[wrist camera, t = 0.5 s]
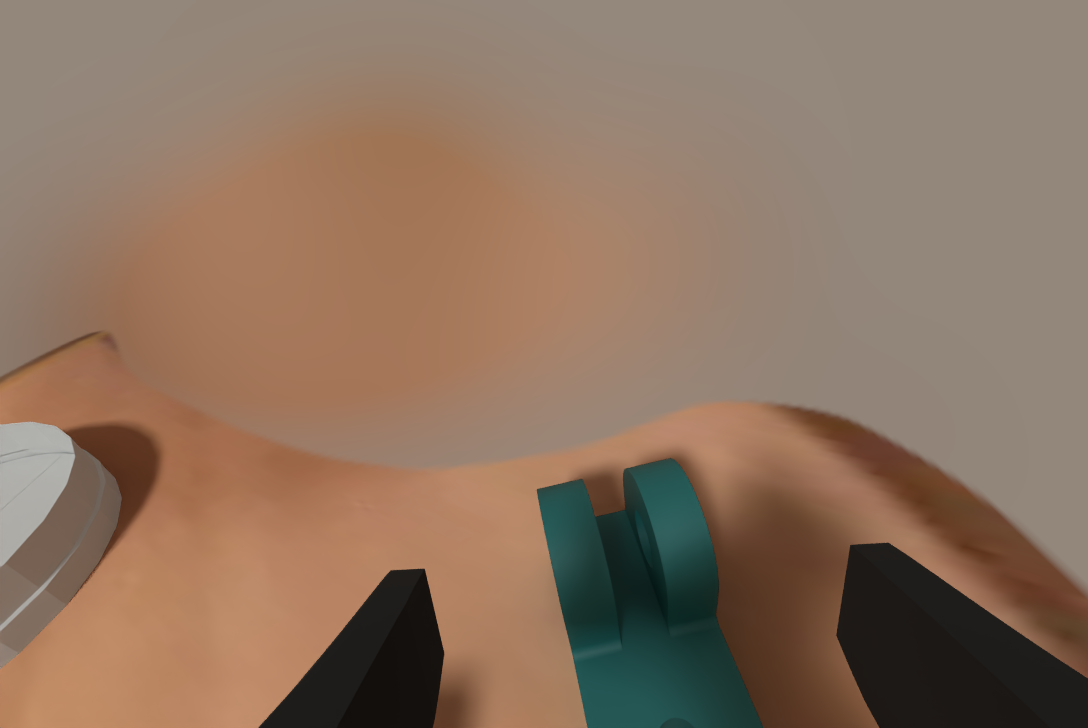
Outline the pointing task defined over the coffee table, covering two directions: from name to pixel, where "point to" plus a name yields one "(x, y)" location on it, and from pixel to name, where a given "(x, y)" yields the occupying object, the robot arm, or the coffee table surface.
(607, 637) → the bracket
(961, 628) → the robot arm
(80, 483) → the dish
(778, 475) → the coffee table surface
